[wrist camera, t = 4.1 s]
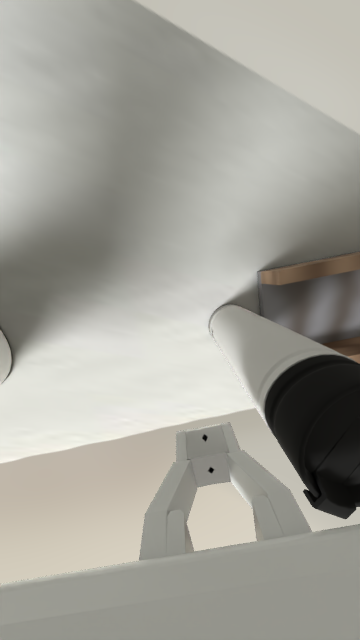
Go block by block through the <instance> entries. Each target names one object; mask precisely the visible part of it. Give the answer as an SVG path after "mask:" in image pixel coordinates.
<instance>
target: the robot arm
mask: <svg viewBox="0 0 360 640" xmlns="http://www.w3.org/2000/svg"><path fill="white" fill-rule="evenodd" d="M10 368H11V351H10V347H9V345H8V342H7V340H6V338H5V336H4V335H3V333H2V332H1V330H0V384H1V383H2V382H3V381H4V380H5V379H6V377H7V375H8V373H9V371H10ZM224 482H231V483H232V484H233V485H234V487H235V488H236V489H237V490H238V492H239V493H240V494H241V495H242V496H243V498H244V499H245V500H246V502H247V503H248V504H249V505H250V507H251V508H252V509H253V515H254V523H255V531H256V539H257V541H256V542H250V543H243V544H237V545H231V546H225V547H219V548H214V549H207V550H201V551H195V552H194V548H193V545H192V541H191V537H190V534H189V530H188V527H187V523H186V522H187V519H188V516H189V513H190V510H191V507H192V504H193V501H194V497H195V494H196V491H197V487H201V486H206V485H211V484H217V483H224ZM0 640H360V524H358V525H352V526H346V527H340V528H334V529H328V530H322V531H316V532H312V530H311V528H310V526H309V525H308V523H307V521H306V519H305V517H304V515H303V513H302V511H301V510H300V508H299V506H298V504H297V502H296V500H295V499H294V496H293V495H292V493H291V491H290V489H288V488H287V487H286V486H285V485H284V484H283V483H281V482H280V481H279V480H278V479H277V478H276V477H274V476H273V475H272V474H271V473H270V472H269V471H267V470H266V469H265V468H264V467H263V466H262V465H260V464H259V463H258V462H257V461H256V460H255V459H253V458H252V457H251V456H250V455H249V454H248V453H246V452H245V451H244V450H240V448H239V445H238V442H237V439H236V437H235V434H234V431H233V429H232V426H231V424H230V422H227V423H222V424H216V425H211V426H207V427H202V428H195V429H189V430H183V431H177V433H176V462H174V463H173V464H172V466H171V468H170V470H169V472H168V473H167V475H166V477H165V479H164V481H163V483H162V484H161V486H160V488H159V490H158V492H157V493H156V495H155V497H154V499H153V501H152V502H151V504H150V506H149V508H148V510H147V512H146V513H145V519H144V526H143V535H142V542H141V549H140V557H139V561H136V562H129V563H123V564H117V565H111V566H105V567H100V568H93V569H88V570H81V571H76V572H69V573H63V574H57V575H51V576H45V577H39V578H33V579H27V580H21V581H15V582H9V583H3V584H0Z"/></svg>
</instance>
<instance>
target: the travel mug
mask: <svg viewBox="0 0 360 640" xmlns="http://www.w3.org/2000/svg"><path fill="white" fill-rule="evenodd" d="M209 332H210V334H211V336H212V338H213V339H214V341H215V342H216V344H217V346H218V347H219V349H220V351H221V352H222V354H223V355H224V357H225V359H226V360H227V362H228V364H229V365H230V367H231V368H232V370H233V372H234V373H235V375H236V376H237V378H238V380H239V381H240V383H241V385H242V386H243V388H244V389H245V391H246V393H247V394H248V396H249V398H250V399H251V401H252V402H253V404H254V406H255V407H256V409H257V411H258V412H259V414H260V415H261V417H262V418H263V420H264V422H265V423H266V425H267V427H268V428H269V429H270V431H271V432H272V433H273V434H274V436H275V437H276V439H277V440H278V443H279V444H280V446H281V447H282V449H283V451H284V452H285V454H286V455H287V457H288V459H289V460H290V462H291V463H292V465H293V466H294V468H295V470H296V471H297V473H298V474H299V476H300V478H301V479H302V481H303V483H304V484H305V485H306V487H307V488H308V489H309V491H308V490H304V491H303V492H304V494H305V496H306V497H307V499H308V500H309V502H310V504H311V505H312V507H314V508H315V509H318V510H321V511H323V512H326V513H329V514H332V515H335V516H338V517H340V518H343V519H347V518H348V517H349V516H350V515H351V514H352V513H353V512H354V511H355V510H356V507H360V364H359V363H357V362H356V361H354V360H353V359H351V358H349V357H347V356H345V355H342V354H340V353H338V352H336V351H334V350H332V349H330V348H328V347H326V346H324V345H322V344H319V343H317V342H315V341H313V340H311V339H309V338H307V337H304V336H302V335H300V334H298V333H296V332H294V331H292V330H290V329H287V328H285V327H283V326H281V325H279V324H277V323H275V322H272V321H270V320H268V319H266V318H264V317H262V316H260V315H258V314H255V313H253V312H251V311H249V310H247V309H245V308H243V307H240V306H238V305H234V304H228V305H224V306H221V307H220V308H218V309H217V310H216V311H215V312H214V313H213V314H212V316H211V318H210V320H209Z"/></svg>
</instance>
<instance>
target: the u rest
mask: <svg viewBox="0 0 360 640" xmlns="http://www.w3.org/2000/svg"><path fill="white" fill-rule="evenodd" d="M257 275H258V288H259V301H260V314H261V316H262V317H264V318H266V319H268V320H270V321H272V322H275V323H277V324H279V325H281V326H283V327H285V328H287V329H290V330H292V331H294V332H296V333H298V334H300V335H302V336H304V337H307V338H309V339H311V340H313V341H315V342H317V343H319V344H322V345H324V346H326V347H328V348H330V349H332V350H334V351H336V352H338V353H340V354H342V355H345V356H347V357H349V358H351V359H353V360H354V361H356V362H357V363H359V364H360V251H359V252H354V253H349V254H344V255H339V256H334V257H329V258H324V259H319V260H314V261H309V262H304V263H299V264H294V265H289V266H284V267H279V268H274V269H269V270H264V271H259V272H257Z"/></svg>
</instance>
